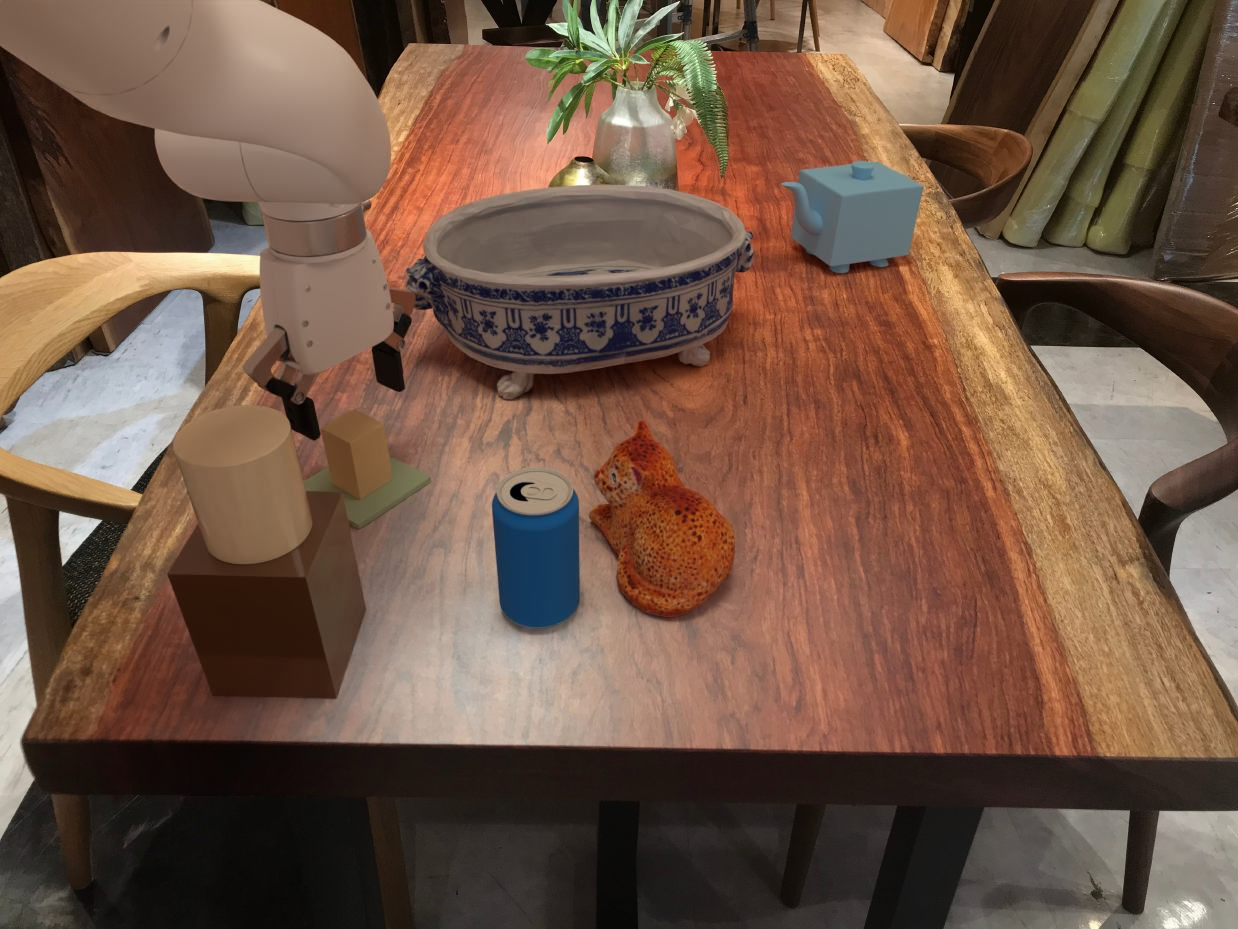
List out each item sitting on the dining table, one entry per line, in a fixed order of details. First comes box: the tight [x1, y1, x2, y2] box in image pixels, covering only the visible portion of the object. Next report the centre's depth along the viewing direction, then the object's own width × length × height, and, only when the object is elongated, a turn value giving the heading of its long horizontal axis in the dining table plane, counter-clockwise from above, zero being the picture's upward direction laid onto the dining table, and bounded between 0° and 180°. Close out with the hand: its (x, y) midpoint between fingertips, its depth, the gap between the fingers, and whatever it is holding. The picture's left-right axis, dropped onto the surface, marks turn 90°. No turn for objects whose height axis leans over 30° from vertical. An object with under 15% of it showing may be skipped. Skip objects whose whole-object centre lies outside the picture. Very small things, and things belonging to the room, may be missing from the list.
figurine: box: [588, 420, 736, 618], centre depth 75 cm, size 15×11×10 cm
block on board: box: [303, 408, 432, 530], centre depth 83 cm, size 9×9×7 cm
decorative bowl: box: [404, 184, 756, 401], centre depth 105 cm, size 42×27×15 cm, turn 110°
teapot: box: [780, 160, 925, 274], centre depth 127 cm, size 22×11×14 cm, turn 111°
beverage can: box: [491, 466, 581, 629], centre depth 69 cm, size 6×6×12 cm
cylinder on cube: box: [166, 404, 367, 699], centre depth 62 cm, size 9×9×20 cm
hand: (350, 409), depth 80 cm, fingers open, 9 cm apart
